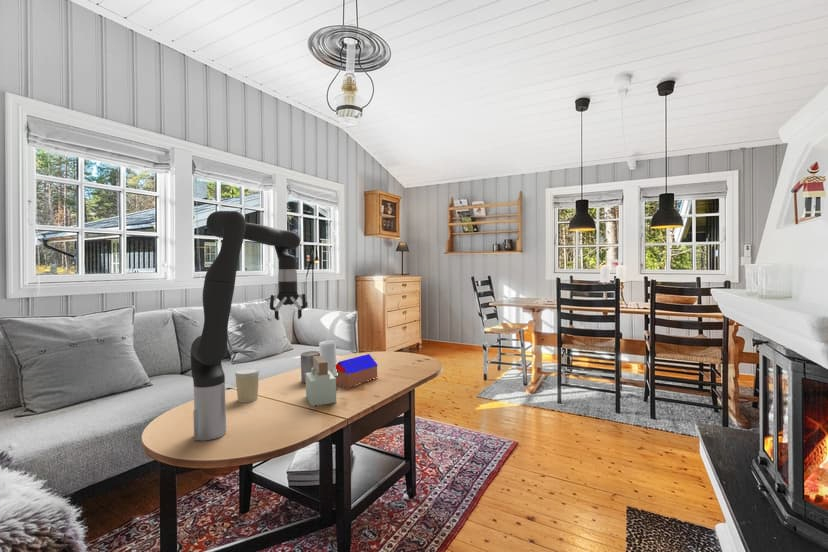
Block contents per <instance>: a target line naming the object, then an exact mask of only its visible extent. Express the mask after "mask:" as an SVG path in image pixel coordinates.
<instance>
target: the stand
mask: <svg viewBox="0 0 828 552" xmlns="http://www.w3.org/2000/svg"><path fill="white" fill-rule="evenodd" d="M305 397H306V399H307V401H308V402H310V403H309V405H310V407H315V405H317V406H323V404H324V405H331V404H336V403H337V385H336V378H335V377H334V376H333V374H332V371H331V370H329V369H328V375H320V376H319V375H318V373H317V372H316V371H315V369H314V368H311V373H306V383H305Z"/></svg>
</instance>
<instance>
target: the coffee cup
mask: <svg viewBox="0 0 828 552" xmlns="http://www.w3.org/2000/svg"><path fill="white" fill-rule="evenodd" d="M234 375H235V376H234V377H235V384H236V385H235V386H236V393H237V402H239V403H250V402H254V401H257V399H259V398H258V397H259V380H260V379H259V375H260V371H259V369H258V368H244V369H240V370H237V371H236V372H235V374H234Z"/></svg>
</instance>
